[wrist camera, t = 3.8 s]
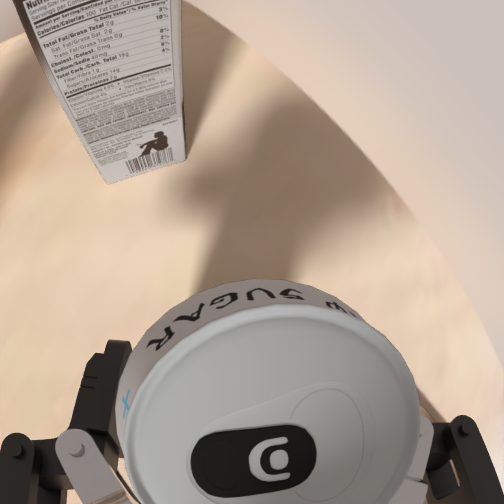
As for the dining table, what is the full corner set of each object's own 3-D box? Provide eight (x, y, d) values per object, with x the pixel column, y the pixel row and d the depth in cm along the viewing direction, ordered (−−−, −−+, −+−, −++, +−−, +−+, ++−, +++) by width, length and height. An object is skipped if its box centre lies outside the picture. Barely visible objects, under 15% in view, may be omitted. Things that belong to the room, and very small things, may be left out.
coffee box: (93, 100, 21) (43, -60, 6) (164, 79, 23) (156, -91, 7) (104, 188, 20) (1, -5, 4) (190, 162, 21) (188, -64, 5)
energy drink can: (278, 399, 18) (429, 525, 3) (182, 408, 17) (134, 582, 3) (269, 307, 19) (432, 249, 5) (173, 314, 18) (66, 270, 4)
